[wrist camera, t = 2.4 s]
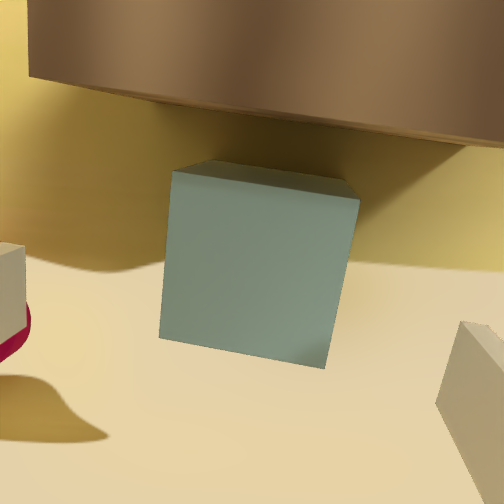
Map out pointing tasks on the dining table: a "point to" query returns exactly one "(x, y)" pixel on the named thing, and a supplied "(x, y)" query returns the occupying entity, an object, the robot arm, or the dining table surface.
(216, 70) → the walnut box
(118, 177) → the dining table surface
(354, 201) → the letter cube
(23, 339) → the pepper mill
